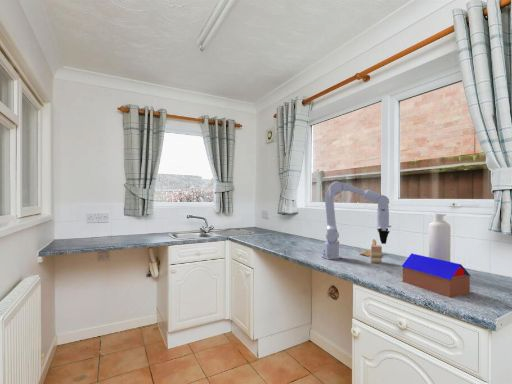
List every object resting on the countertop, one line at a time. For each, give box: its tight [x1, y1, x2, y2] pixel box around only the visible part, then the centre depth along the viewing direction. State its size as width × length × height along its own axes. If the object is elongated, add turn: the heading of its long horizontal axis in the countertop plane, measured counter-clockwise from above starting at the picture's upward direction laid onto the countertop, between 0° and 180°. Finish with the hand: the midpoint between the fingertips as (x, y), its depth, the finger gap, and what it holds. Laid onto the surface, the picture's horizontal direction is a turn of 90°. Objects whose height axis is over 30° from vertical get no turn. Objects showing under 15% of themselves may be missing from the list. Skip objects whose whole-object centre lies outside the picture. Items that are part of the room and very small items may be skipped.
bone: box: [359, 239, 377, 258], centre depth 171 cm, size 10×10×15 cm
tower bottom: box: [370, 257, 382, 265], centre depth 151 cm, size 5×5×3 cm
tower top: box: [370, 252, 382, 259], centre depth 151 cm, size 5×5×3 cm
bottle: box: [428, 213, 451, 262], centre depth 125 cm, size 8×8×28 cm
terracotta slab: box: [370, 244, 383, 253], centre depth 151 cm, size 5×5×3 cm
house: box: [401, 253, 472, 299], centre depth 110 cm, size 12×20×12 cm, turn 23°
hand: (383, 242), depth 152 cm, fingers open, 7 cm apart
